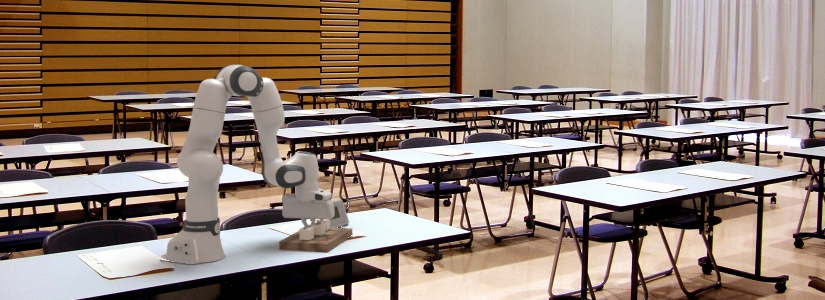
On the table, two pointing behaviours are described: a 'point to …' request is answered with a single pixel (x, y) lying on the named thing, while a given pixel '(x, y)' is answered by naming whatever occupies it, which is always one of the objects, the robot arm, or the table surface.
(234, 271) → the table surface
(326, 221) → the switch back
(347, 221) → the digital clock
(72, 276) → the table surface
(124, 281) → the table surface
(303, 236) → the switch front
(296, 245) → the switch housing
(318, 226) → the switch middle
